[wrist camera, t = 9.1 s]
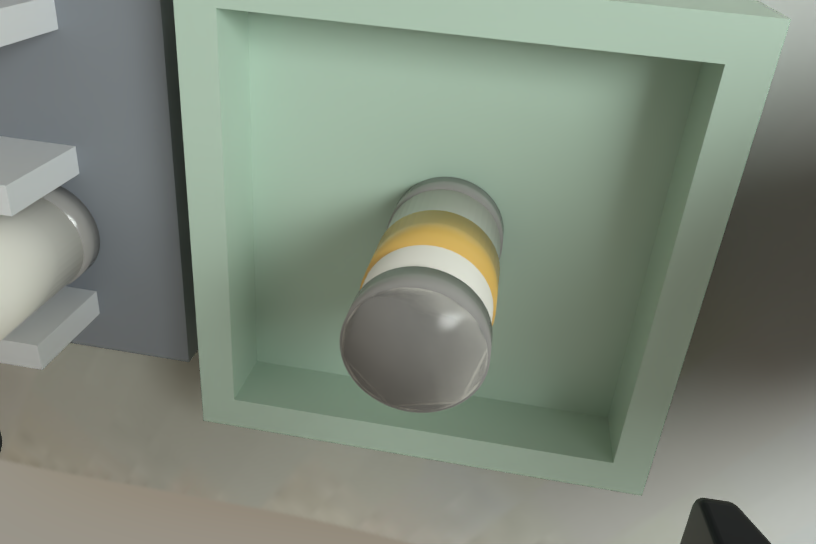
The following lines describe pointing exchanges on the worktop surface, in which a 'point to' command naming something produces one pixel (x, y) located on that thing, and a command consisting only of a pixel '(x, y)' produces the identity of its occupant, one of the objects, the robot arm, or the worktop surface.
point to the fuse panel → (101, 170)
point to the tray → (490, 170)
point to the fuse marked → (428, 299)
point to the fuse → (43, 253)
